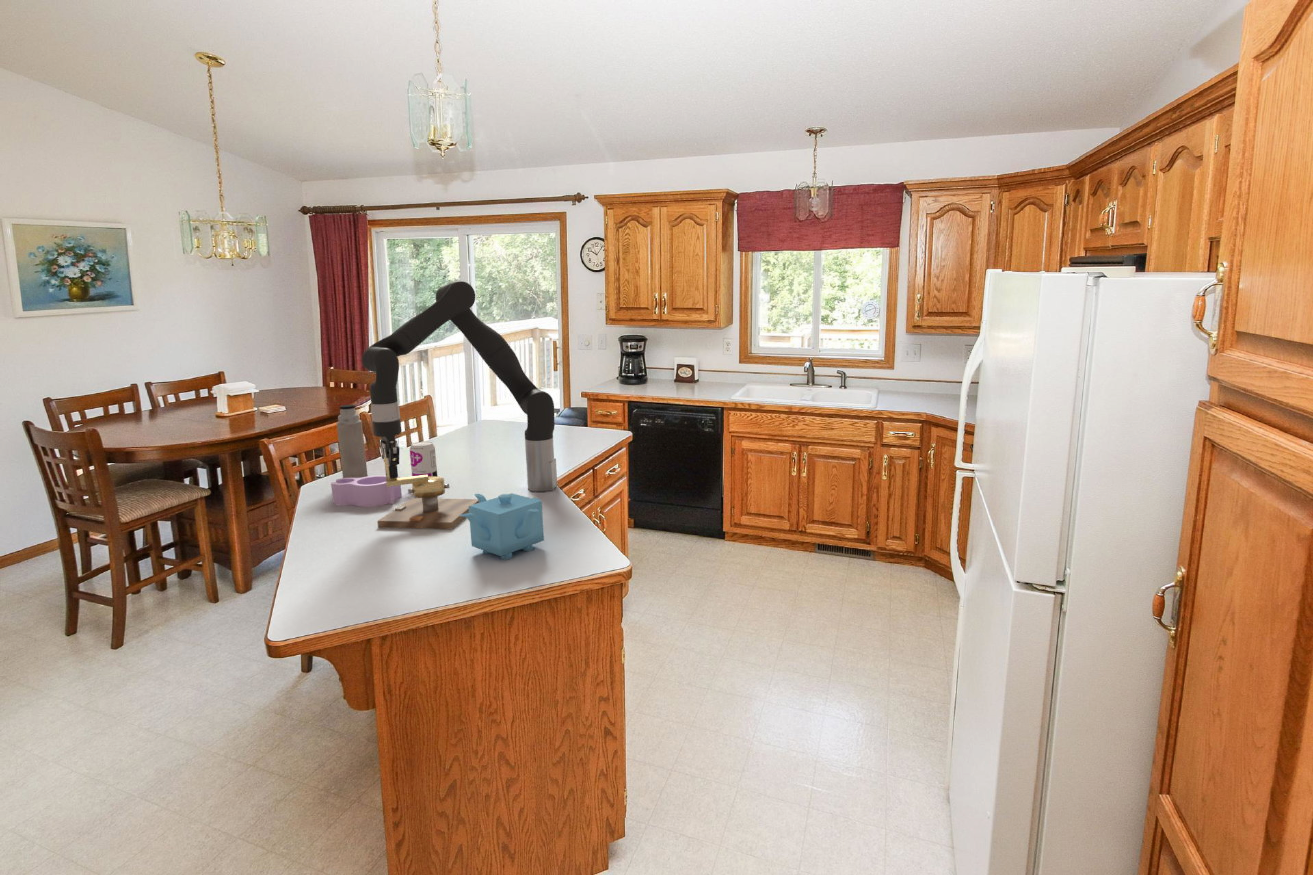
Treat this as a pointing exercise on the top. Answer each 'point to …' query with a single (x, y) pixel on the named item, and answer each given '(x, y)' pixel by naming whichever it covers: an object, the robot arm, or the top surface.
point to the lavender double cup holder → (364, 491)
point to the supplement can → (423, 459)
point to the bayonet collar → (418, 484)
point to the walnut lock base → (427, 513)
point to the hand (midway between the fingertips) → (392, 476)
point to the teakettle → (505, 524)
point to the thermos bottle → (351, 443)
